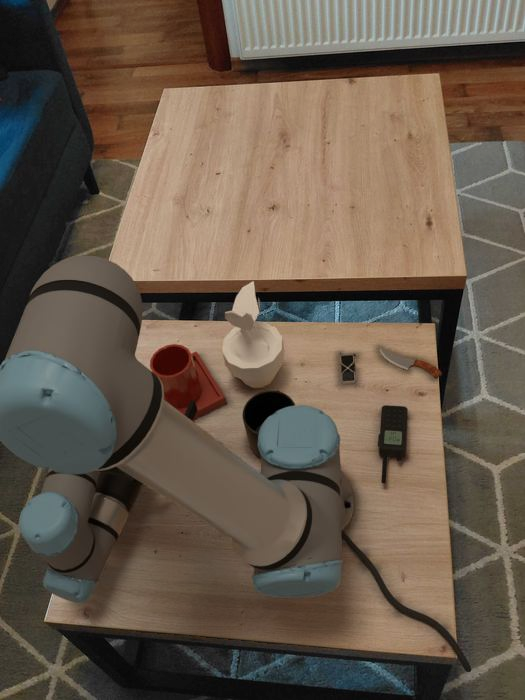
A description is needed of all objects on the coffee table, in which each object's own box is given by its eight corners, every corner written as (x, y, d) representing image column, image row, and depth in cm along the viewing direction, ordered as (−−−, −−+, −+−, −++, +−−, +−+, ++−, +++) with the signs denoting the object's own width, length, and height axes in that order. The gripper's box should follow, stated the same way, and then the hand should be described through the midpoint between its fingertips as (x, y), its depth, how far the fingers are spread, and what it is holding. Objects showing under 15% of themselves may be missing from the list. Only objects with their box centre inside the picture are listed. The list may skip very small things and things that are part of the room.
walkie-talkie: (407, 406, 116) (405, 479, 106) (407, 417, 118) (404, 490, 109) (380, 404, 117) (375, 477, 107) (380, 415, 119) (375, 487, 110)
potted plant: (278, 405, 123) (261, 316, 104) (221, 393, 127) (195, 305, 108) (297, 354, 131) (285, 263, 112) (243, 344, 134) (222, 254, 115)
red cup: (208, 396, 126) (198, 365, 118) (172, 415, 124) (159, 384, 117) (192, 370, 131) (181, 338, 123) (157, 387, 129) (143, 355, 121)
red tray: (227, 403, 125) (225, 397, 124) (167, 433, 123) (165, 427, 121) (198, 357, 133) (196, 351, 132) (142, 384, 131) (139, 378, 129)
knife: (373, 357, 127) (379, 346, 129) (373, 359, 128) (379, 348, 129) (438, 379, 122) (444, 367, 123) (438, 381, 122) (444, 369, 124)
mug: (306, 409, 122) (302, 380, 115) (296, 465, 115) (292, 438, 108) (257, 405, 124) (250, 376, 117) (244, 460, 117) (237, 433, 110)
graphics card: (340, 352, 129) (355, 351, 128) (340, 354, 129) (355, 353, 129) (341, 381, 124) (357, 380, 124) (341, 384, 125) (357, 383, 124)
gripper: (52, 496, 112) (106, 397, 124) (183, 531, 105) (227, 422, 117) (35, 475, 106) (94, 374, 119) (172, 510, 99) (220, 398, 111)
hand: (160, 398), depth 118 cm, fingers open, 13 cm apart
